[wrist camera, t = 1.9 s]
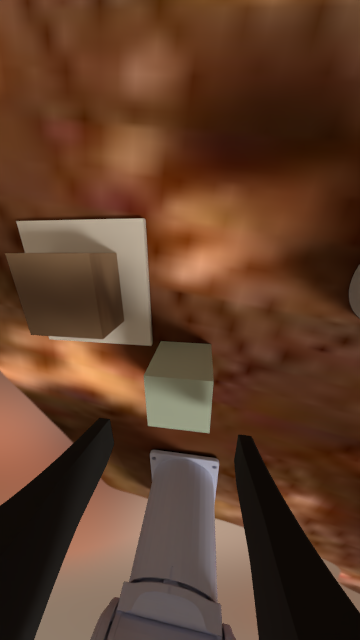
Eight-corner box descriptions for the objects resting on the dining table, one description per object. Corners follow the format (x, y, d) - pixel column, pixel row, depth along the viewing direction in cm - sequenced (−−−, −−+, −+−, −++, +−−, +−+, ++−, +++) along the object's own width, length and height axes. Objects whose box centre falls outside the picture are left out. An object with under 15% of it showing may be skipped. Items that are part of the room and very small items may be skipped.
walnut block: (124, 321, 16) (103, 339, 12) (65, 318, 16) (31, 334, 13) (116, 252, 14) (88, 253, 10) (50, 252, 14) (4, 253, 11)
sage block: (208, 385, 18) (209, 433, 13) (162, 381, 18) (148, 425, 14) (211, 343, 16) (213, 381, 11) (160, 340, 17) (143, 375, 12)
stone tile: (152, 343, 17) (151, 345, 16) (53, 336, 18) (49, 339, 17) (145, 219, 13) (143, 218, 13) (22, 222, 14) (15, 221, 14)
